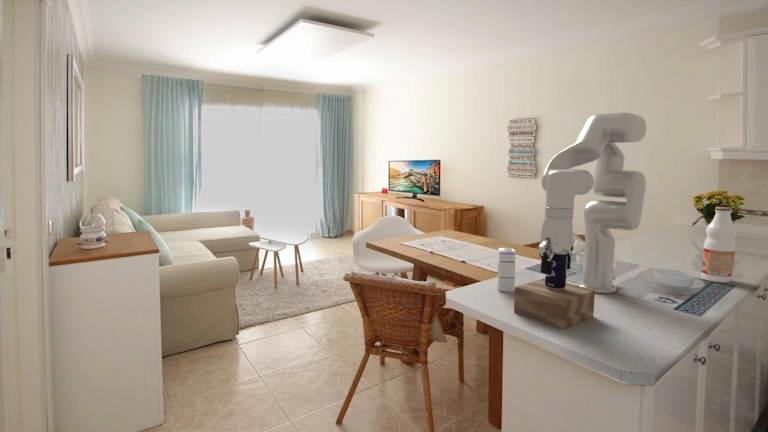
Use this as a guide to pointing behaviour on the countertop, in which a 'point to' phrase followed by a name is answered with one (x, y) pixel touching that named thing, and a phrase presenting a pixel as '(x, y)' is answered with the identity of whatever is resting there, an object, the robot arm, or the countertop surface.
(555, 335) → the countertop surface
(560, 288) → the beverage can
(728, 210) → the fruit juice
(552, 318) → the walnut block
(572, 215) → the robot arm
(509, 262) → the syrup box
